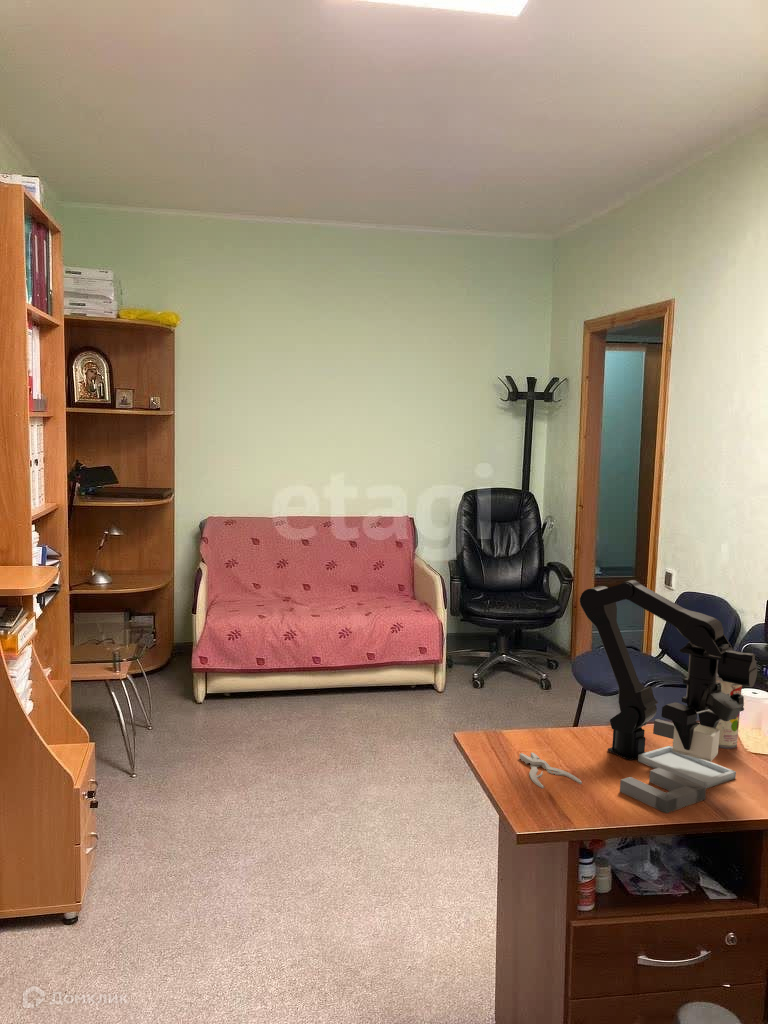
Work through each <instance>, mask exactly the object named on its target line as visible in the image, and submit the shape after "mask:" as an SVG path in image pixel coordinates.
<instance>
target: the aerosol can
mask: <svg viewBox="0 0 768 1024" xmlns="http://www.w3.org/2000/svg"><path fill="white" fill-rule="evenodd" d="M716 682H719V683H720V685H721V691H722V692H723V693H725V694H730V695H729V696H731V695H732V694H735V693H740V694H741V695H742V688H743V685H738V684H734V683H729V682H725V681H723V680H722V678H719V675H718V672H717V679H716ZM740 716H741V715H740V712H739V714H738V716H737V718H736V719H732V720H729V721H723V720H720V721H719V723H718V724H717V726H716V729H720V736H719V746H718V749H726V750H729V749H730V750H732V749H736V748H738V747H737V746H738V737H739V725H740V724H739V723H740Z"/></svg>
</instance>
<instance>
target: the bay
mask: <svg viewBox="0 0 768 1024" xmlns="http://www.w3.org/2000/svg"><path fill="white" fill-rule="evenodd" d="M648 779H649V781H648V782H649V783H650V784H653V785H655V786H657V787H659V788H662V789H664V790H667V792H665V791H664V790H661V789H659V788H657V787H654V786H652V785H650V784H647V783H645V782H644V781H641V780H639V779H637V778H635V777H632V776H629V777H625V778H621V779H620V783H619V785H620V786H619V793H622V794H624V795H626V796H628V797H631V798H632V799H634V800H636V801H638V802H641V803H643V804H646V805H647V806H649V807H652V808H654V809H656V810H658V811H660V812H662V813H664V812H665V813H664V814H666V813H667V814H669V812H670V813H672V812H674V810H675V811H678V810H680V809H683V808H686V807H688V805H689V806H691V805H693V804H696V803H697V804H698V802H702V801H705V800H706V794H707V793H706V791H707V789H706V787H704V786H701V785H699V784H697V783H694V782H692V781H690V780H687V779H685V778H682V777H680V776H678V775H675V774H673V773H671V772H668V771H666V770H663V769H661V768H656V769H655V768H653V769H651V770H649V778H648ZM685 806H686V807H685ZM682 807H683V808H682ZM677 809H678V810H677ZM671 811H672V812H671Z"/></svg>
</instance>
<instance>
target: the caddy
mask: <svg viewBox="0 0 768 1024" xmlns="http://www.w3.org/2000/svg"><path fill="white" fill-rule="evenodd" d="M652 730H653V731H652V734H653V735H656V736H660V737H664V738H668V739H672V747H673V748H672V751H673V752H677V753H680V754H684V755H688V756H691V757H695V758H698V759H702V760H706V761H709V762H713V760H714V759H715V758H716V757H717V756H718V755H719V754H718V753H719V747H718V746H719V736H720V729H716V728H712V727H708V726H704V725H700V724H699V725H698V726H696V727H695V728H694V731H693V737H692V742H691V747H690V750H686V749H684V747H683V744H682V742H681V739H680V737H679V734H678V732H677V730H676V728H675V726H674V724H673V722H671V721H667V720H662V719H658V718H656V719H654V722H653V729H652Z"/></svg>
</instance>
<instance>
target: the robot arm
mask: <svg viewBox="0 0 768 1024" xmlns="http://www.w3.org/2000/svg"><path fill="white" fill-rule="evenodd" d="M624 600H628V601H630V602H631V603H633V604H634V605H636V606H639V607H640V608H641V609H644V610H645V611H647V612H649V613H651V614H652V615H654V616H655V617H658V618H659V619H661V620H663V621H664V622H666V623H668V624H670V625H671V626H672V627H674V628H675V629H677V631H678V633H680V635H682V637H684V638H685V639H687V641H688V642H687V643H686V645H684V646H683V647H682V648H680V649H679V652H680V653H682V654H685V655H686V654H687V655H689V656H688V670H687V672H688V673H687V677H685V678H683V679H682V684H684V685H686V696H685V695H684V696H682V697H681V702H682V703H684V704H682V703H679V702H676V701H675V702H671V703H667V704H665V705H663V706H662V707H661V718H664V719H667V720H669V721H672V722H671V723H673V724H674V726H675V728H676V730H677V732H678V734H679V737H680V739H681V742H682V744H683V747H684V749H686V750H690V747H691V742H692V737H693V731H694V728H695V727H696V726H698V725H699V724H700V725H704V726H708V727H712V728H716V726H717V724H718V723H719V721H720V720H723V721H729V720H732V719H736V718H737V716H738V714H739V712H744V710H745V708H744V706H745V705H744V704H745V702H744V700H745V697H744V696H743V695H742V693H741V694H740V693H735V694H732V695H731V696H729V695H730V694H725V693H723V692H722V691H721V685H720V683H719V682H716V679H717V672H718V675H719V678H722V680H723V681H725V682H729V683H734V684H738V685H742V687H744V686H745V687H747V688H748V687H749V688H753V687H754V685H755V683H756V681H757V675H758V671H759V670H758V667H757V661H756V654H755V653H751V652H741V651H736V650H733V647H732V645H731V643H730V641H729V640H728V639H727V637H726V635H725V633H724V627H723V624H722V621H720V620H718V618H716V617H713V616H710V615H707V614H705V613H703V612H698V611H694V610H689V609H686V608H684V607H683V606H680V605H679V604H677V603H675V602H673V601H671V600H670V599H668V598H666V597H664V596H663V595H660V594H659V593H657V592H655V591H653V590H652V589H650V588H648V587H646V586H645V585H643V584H641V583H640V582H639V581H637V580H635V579H631V580H626V581H624V582H621V583H619V584H617V585H616V584H615V585H614V586H609V587H608V586H605V585H599V586H595V587H591V588H586V589H585V590H584V591H583V592H582V593H581V594H580V597H579V605H580V607H581V609H582V611H583V613H584V614H585V616H586V617H587V619H588V620H589V621H590V622H591V623H592V625H594V627H595V628H596V630H597V633H598V635H599V637H600V640H601V641H600V642H601V643H602V646H603V649H604V651H605V654H606V657H607V660H608V662H609V664H610V668H611V671H612V672H613V675H614V678H615V681H616V684H617V686H618V706H619V711H620V712H619V713H617V714H616V715H614V716H613V717H612V718H609V723H610V727H611V730H612V744H611V746H612V747H608V748H607V752H608V753H611V754H613V755H616V756H619V757H621V758H623V759H625V760H628V761H632V760H635V759H638V755H639V754H643V753H646V752H647V751H646V750H645V749H646V737H645V732H646V731H645V729H643V728H642V727H644V726H646V725H647V724H648V722H649V721H650V720H652V719H653V718H654V717H655V716H656V713H657V710H658V708H657V704H658V703H659V702H658V701H657V700H656V697H655V696H654V692H653V687H652V686H650V685H649V686H646V687H645V686H644V685H643V684H642V683H641V682H640V680H639V677H638V675H637V672H636V670H635V667H634V665H633V661H632V658H631V657H630V653H629V651H628V647H627V645H626V644H625V640H624V638H623V635H622V632H621V630H620V628H619V624H618V622H617V621H618V620H617V619H618V615H617V614H618V608H617V607H618V606H617V602H620V601H624ZM685 704H686V705H685ZM697 719H698V721H697Z"/></svg>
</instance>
